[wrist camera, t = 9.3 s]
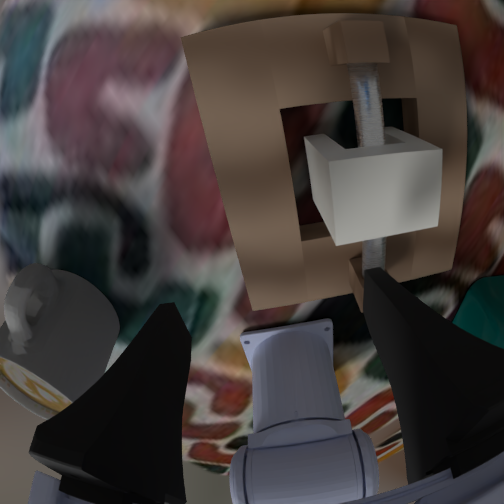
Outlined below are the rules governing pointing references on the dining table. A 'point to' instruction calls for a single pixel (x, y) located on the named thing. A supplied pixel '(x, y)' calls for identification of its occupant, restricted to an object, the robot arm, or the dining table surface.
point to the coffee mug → (54, 338)
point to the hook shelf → (314, 92)
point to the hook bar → (368, 138)
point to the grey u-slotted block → (375, 186)
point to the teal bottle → (484, 310)
